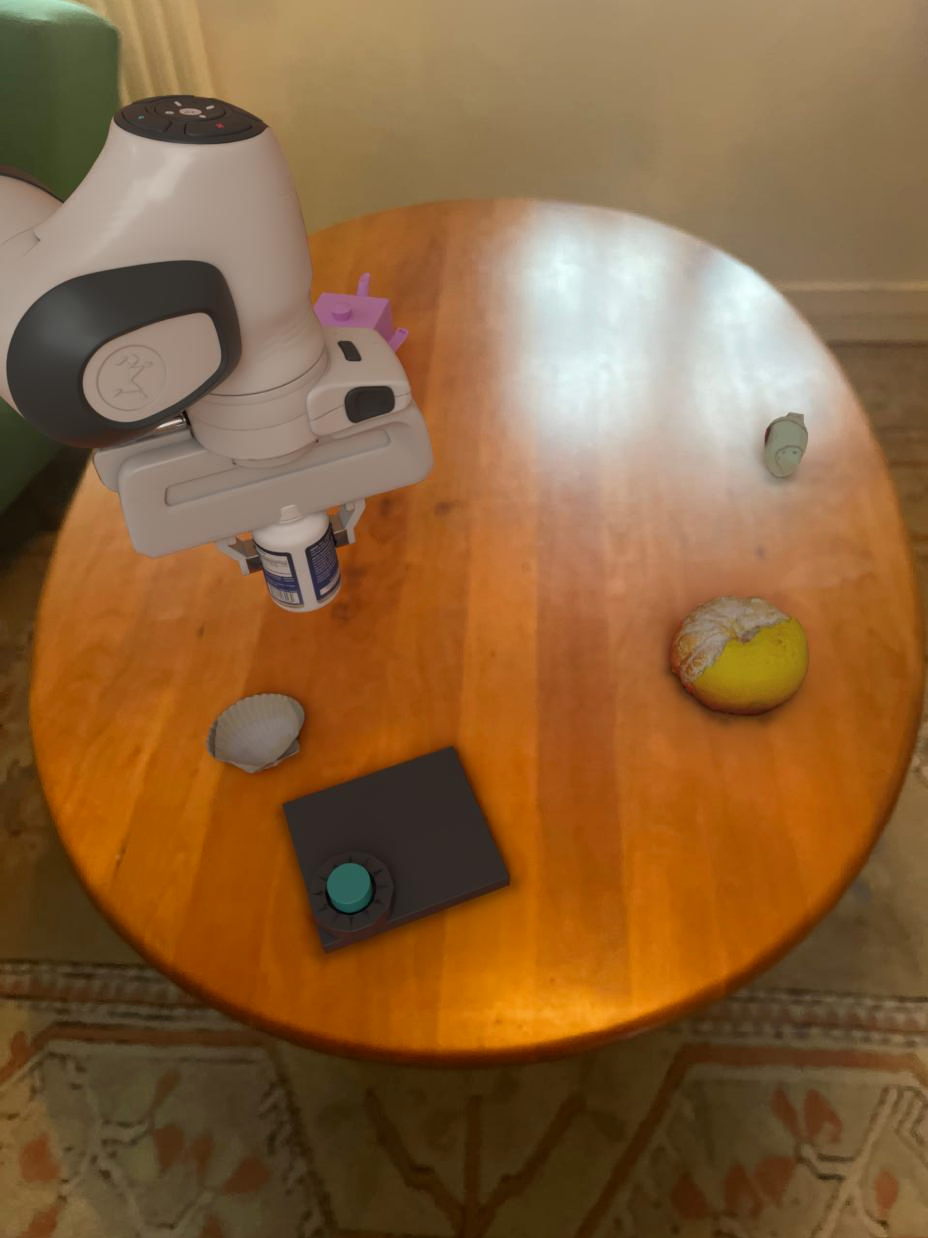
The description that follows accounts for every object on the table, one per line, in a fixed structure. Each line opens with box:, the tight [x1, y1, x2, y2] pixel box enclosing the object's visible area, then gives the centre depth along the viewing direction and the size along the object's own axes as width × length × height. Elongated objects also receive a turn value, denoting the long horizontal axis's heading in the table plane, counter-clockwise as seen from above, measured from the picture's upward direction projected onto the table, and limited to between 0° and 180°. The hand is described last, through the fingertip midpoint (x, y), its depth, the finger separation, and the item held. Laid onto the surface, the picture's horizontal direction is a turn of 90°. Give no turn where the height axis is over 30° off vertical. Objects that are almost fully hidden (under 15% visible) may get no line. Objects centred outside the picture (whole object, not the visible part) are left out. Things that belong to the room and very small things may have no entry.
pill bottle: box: [250, 505, 343, 613], centre depth 66 cm, size 5×5×10 cm
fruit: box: [669, 594, 810, 717], centre depth 79 cm, size 11×10×8 cm
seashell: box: [205, 692, 306, 774], centre depth 77 cm, size 8×3×8 cm
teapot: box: [312, 272, 410, 355], centre depth 106 cm, size 18×13×10 cm
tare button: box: [327, 863, 373, 913], centre depth 66 cm, size 3×3×2 cm
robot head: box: [763, 411, 809, 478], centre depth 94 cm, size 8×4×7 cm, turn 164°
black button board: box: [281, 745, 511, 955], centre depth 71 cm, size 14×12×3 cm
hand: (298, 553), depth 67 cm, fingers closed on pill bottle, 5 cm apart
